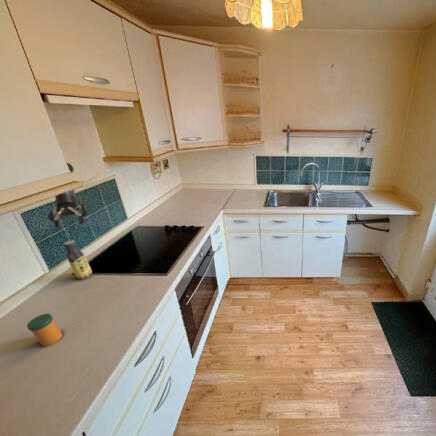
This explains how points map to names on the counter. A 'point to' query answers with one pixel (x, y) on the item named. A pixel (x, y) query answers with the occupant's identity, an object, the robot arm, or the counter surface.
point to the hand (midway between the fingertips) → (70, 225)
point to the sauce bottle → (77, 261)
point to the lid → (39, 322)
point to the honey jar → (48, 334)
